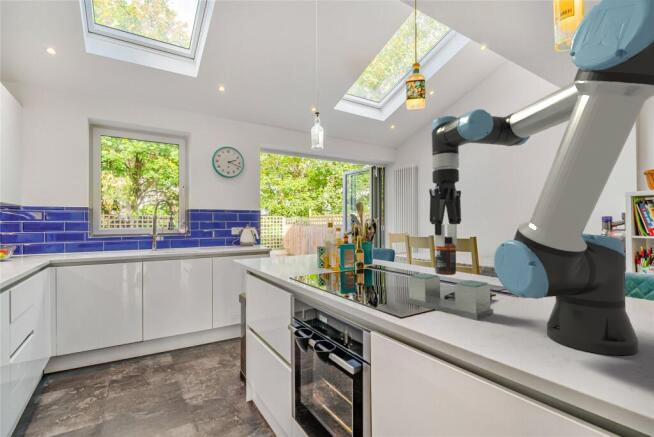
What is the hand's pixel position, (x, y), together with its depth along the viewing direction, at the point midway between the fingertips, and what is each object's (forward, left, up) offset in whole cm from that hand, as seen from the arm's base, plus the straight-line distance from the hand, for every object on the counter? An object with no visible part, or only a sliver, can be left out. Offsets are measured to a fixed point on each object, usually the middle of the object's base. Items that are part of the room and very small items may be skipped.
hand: (446, 245), depth 95 cm
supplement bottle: (0, 0, -9) cm, 9 cm away
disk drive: (+1, -14, -20) cm, 24 cm away
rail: (0, 0, -19) cm, 19 cm away
